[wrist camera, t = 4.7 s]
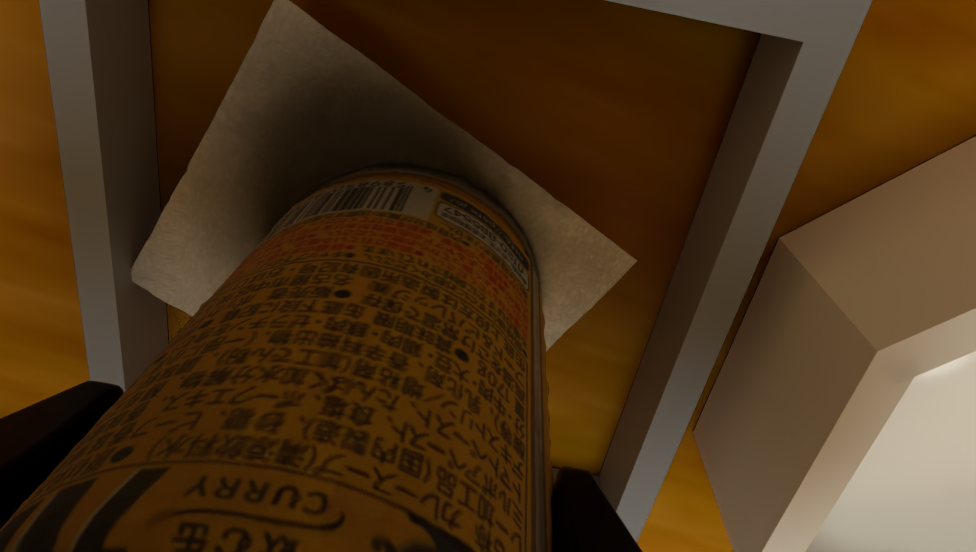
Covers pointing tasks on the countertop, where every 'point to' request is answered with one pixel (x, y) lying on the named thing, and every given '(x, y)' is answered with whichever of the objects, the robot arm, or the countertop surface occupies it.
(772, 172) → the open square frame
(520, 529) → the condiment
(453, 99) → the countertop surface
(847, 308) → the bowl
